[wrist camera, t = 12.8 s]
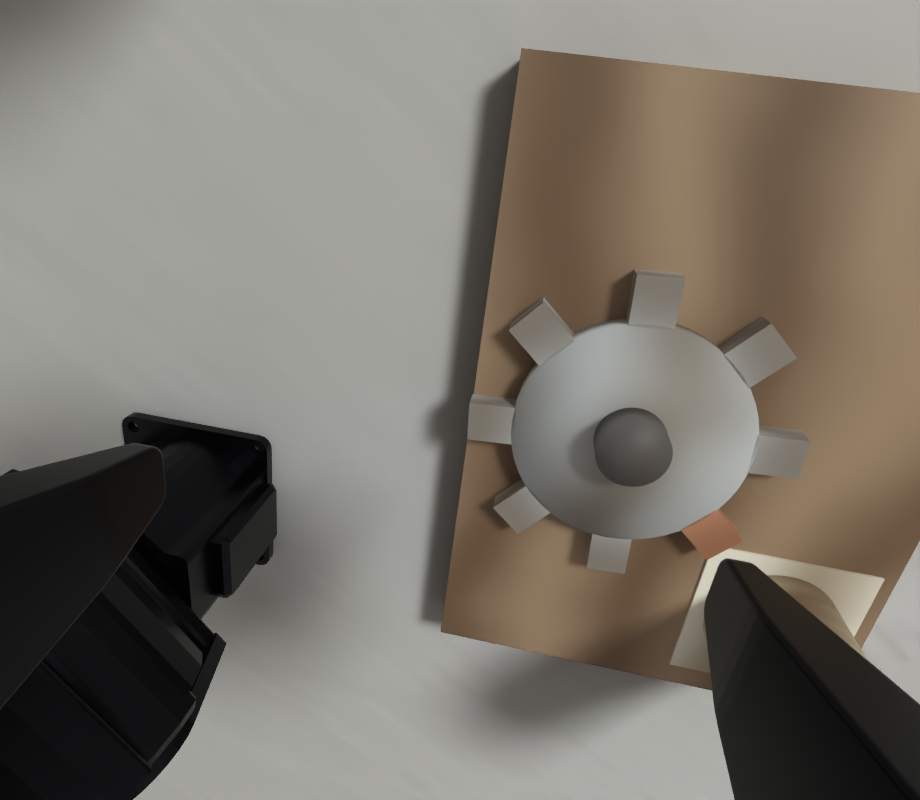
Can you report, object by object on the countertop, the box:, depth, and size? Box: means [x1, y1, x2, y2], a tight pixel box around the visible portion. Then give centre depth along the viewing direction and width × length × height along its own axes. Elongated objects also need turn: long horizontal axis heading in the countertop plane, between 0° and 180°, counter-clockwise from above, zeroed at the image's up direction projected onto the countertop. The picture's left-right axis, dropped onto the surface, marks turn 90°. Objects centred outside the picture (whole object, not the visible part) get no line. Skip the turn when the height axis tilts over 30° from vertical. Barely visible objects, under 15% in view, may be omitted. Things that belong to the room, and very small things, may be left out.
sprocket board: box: [441, 48, 920, 690], centre depth 20 cm, size 16×22×3 cm
